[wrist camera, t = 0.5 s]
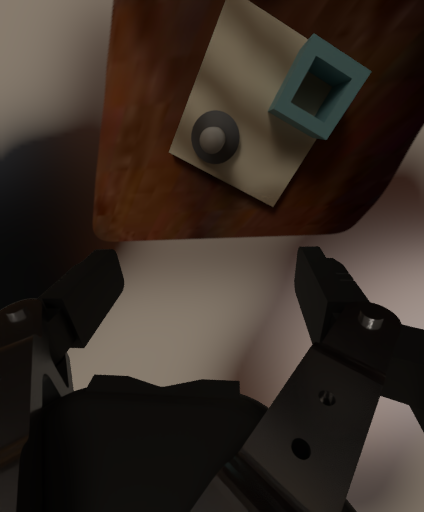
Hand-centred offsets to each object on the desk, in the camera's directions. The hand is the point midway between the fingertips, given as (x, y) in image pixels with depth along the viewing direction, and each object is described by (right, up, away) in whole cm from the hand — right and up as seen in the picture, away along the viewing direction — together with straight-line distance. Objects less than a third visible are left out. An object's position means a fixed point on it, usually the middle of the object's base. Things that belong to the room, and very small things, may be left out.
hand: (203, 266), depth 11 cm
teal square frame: (+11, +18, +16) cm, 26 cm away
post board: (+5, +17, +18) cm, 26 cm away
